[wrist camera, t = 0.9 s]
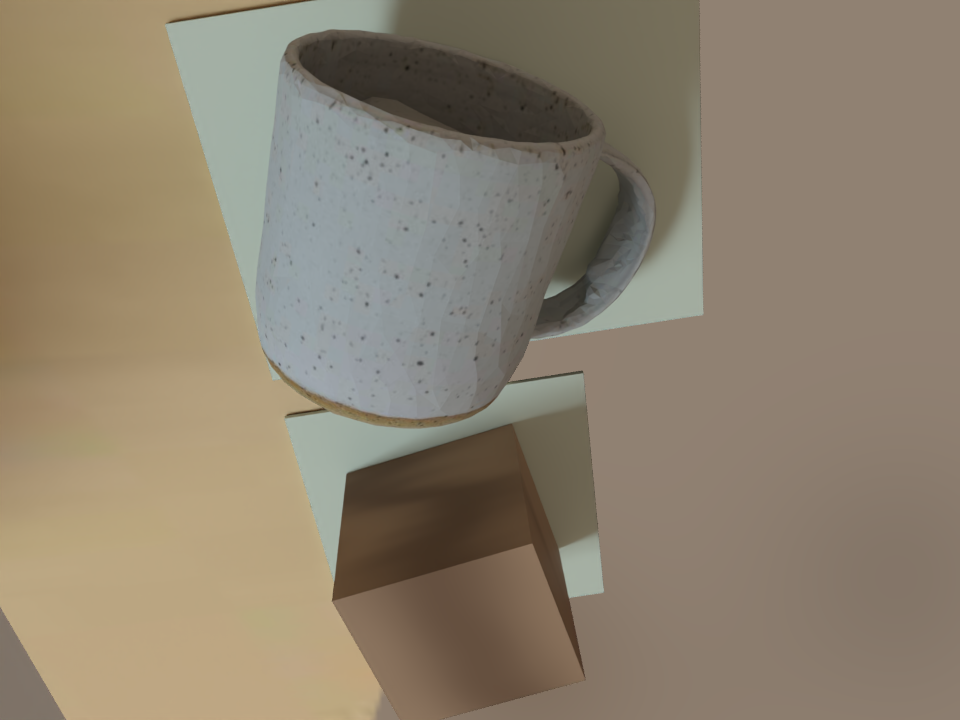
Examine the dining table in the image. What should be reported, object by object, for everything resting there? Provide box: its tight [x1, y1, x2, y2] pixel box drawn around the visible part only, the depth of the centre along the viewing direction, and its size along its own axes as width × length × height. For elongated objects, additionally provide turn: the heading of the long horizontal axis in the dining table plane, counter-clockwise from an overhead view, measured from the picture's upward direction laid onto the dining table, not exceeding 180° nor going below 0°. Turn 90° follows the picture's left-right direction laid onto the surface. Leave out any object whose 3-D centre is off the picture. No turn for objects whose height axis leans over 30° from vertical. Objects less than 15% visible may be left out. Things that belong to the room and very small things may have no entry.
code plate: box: [165, 0, 703, 380], centre depth 26 cm, size 14×11×1 cm
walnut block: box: [332, 424, 585, 720], centre depth 29 cm, size 6×6×6 cm
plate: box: [285, 371, 604, 598], centre depth 32 cm, size 10×10×1 cm
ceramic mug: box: [255, 29, 656, 429], centre depth 22 cm, size 11×8×8 cm
